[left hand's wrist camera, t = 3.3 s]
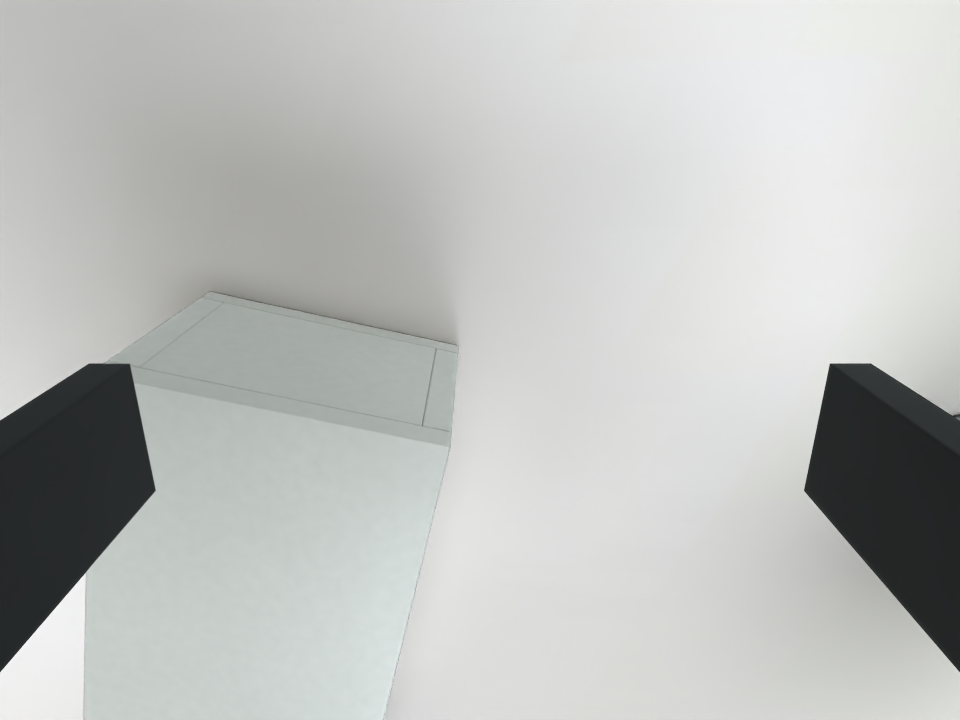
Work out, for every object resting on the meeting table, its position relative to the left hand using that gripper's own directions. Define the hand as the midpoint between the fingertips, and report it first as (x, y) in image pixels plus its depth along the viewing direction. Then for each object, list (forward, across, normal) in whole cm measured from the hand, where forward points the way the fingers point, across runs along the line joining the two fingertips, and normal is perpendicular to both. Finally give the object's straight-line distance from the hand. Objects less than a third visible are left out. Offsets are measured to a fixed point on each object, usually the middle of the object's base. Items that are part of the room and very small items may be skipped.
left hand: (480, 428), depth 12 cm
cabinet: (+17, -9, -14) cm, 24 cm away
